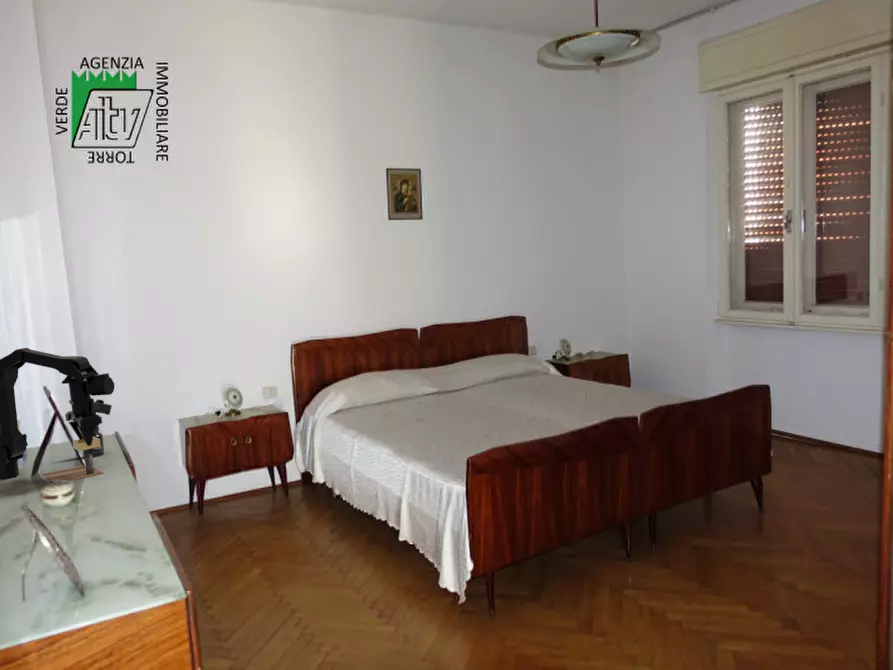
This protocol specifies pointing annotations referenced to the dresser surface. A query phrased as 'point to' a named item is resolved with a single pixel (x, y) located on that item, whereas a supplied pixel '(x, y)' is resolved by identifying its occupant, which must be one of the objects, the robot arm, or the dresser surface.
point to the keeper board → (75, 471)
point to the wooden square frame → (86, 444)
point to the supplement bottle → (98, 450)
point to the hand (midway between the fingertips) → (86, 444)
